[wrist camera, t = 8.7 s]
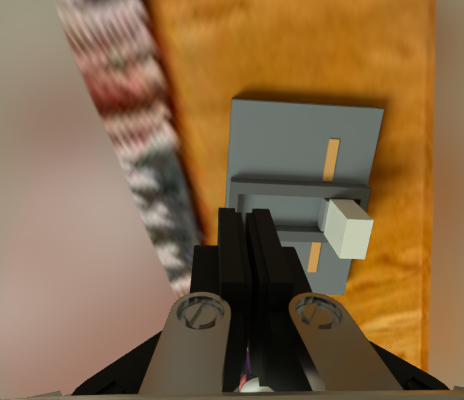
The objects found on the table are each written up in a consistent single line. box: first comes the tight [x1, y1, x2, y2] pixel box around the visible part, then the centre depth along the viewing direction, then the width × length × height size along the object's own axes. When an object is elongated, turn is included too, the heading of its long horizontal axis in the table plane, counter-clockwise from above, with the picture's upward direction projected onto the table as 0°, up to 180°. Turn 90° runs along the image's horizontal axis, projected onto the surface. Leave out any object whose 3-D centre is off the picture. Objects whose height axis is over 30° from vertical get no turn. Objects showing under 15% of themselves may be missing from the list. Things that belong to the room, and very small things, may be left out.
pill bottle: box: [239, 347, 274, 392], centre depth 42 cm, size 5×5×10 cm
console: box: [225, 98, 384, 295], centre depth 38 cm, size 22×15×4 cm
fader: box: [317, 198, 374, 259], centre depth 34 cm, size 4×3×7 cm
